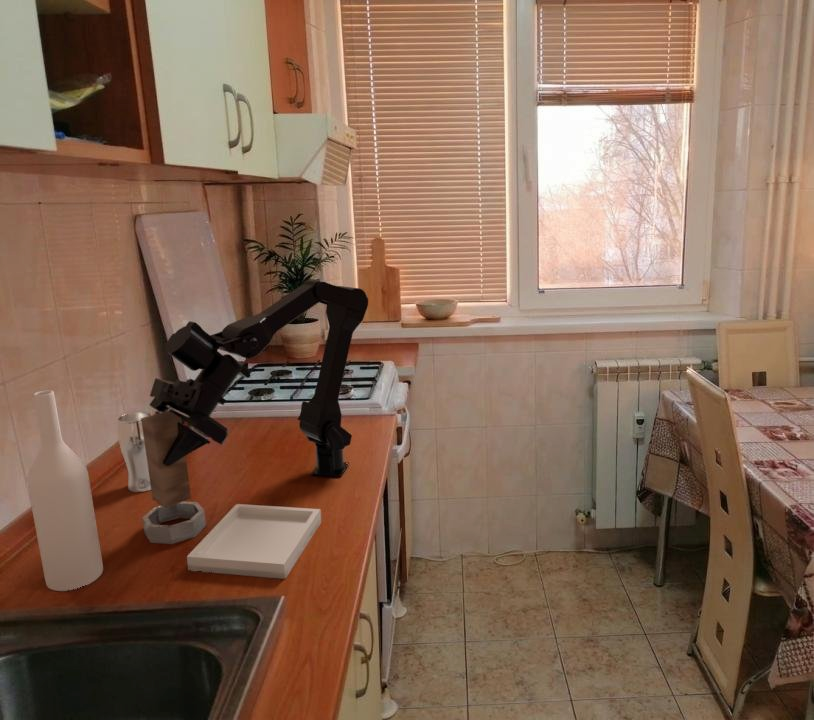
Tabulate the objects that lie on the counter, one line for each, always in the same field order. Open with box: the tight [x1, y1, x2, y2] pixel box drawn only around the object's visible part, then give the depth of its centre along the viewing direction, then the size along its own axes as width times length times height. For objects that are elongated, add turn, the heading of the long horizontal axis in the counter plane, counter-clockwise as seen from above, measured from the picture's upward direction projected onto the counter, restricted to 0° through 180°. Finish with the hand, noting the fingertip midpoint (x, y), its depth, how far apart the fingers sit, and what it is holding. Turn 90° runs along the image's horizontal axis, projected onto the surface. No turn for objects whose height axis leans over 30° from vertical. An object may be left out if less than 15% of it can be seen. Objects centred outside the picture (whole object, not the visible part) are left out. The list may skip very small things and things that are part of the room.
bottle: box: [26, 389, 104, 592], centre depth 98 cm, size 8×8×30 cm
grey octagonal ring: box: [142, 500, 207, 545], centre depth 115 cm, size 10×10×3 cm
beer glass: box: [116, 410, 153, 493], centre depth 132 cm, size 7×7×15 cm
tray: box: [186, 503, 322, 580], centre depth 109 cm, size 18×16×2 cm
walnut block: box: [141, 411, 192, 508], centre depth 112 cm, size 5×5×15 cm
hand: (158, 460), depth 111 cm, fingers closed on walnut block, 5 cm apart
